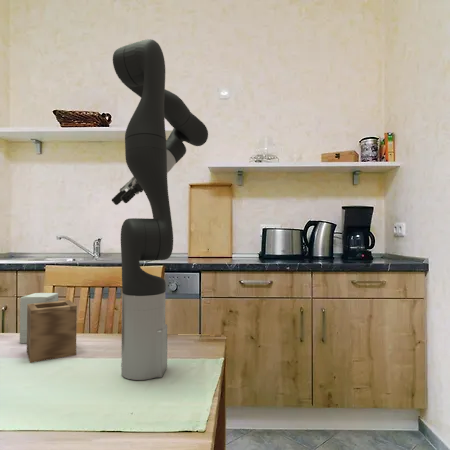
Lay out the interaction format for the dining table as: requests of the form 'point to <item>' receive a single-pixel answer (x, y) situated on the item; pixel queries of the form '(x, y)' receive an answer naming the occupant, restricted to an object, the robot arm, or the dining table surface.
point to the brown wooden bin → (51, 330)
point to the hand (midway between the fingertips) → (118, 201)
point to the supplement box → (23, 309)
